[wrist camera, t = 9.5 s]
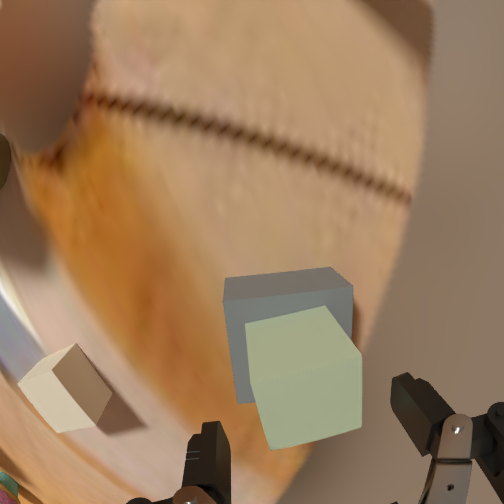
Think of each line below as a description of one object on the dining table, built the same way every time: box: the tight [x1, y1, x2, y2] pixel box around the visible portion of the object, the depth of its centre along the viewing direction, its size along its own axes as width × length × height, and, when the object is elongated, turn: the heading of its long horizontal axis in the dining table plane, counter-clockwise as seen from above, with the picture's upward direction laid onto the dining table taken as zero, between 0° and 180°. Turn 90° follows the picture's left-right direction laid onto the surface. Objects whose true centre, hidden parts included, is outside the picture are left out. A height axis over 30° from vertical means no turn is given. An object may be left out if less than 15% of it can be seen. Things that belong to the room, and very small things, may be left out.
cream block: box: [17, 343, 113, 433], centre depth 21 cm, size 6×6×5 cm
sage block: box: [245, 305, 362, 451], centre depth 15 cm, size 5×5×6 cm
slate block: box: [223, 267, 353, 404], centre depth 21 cm, size 8×8×5 cm
